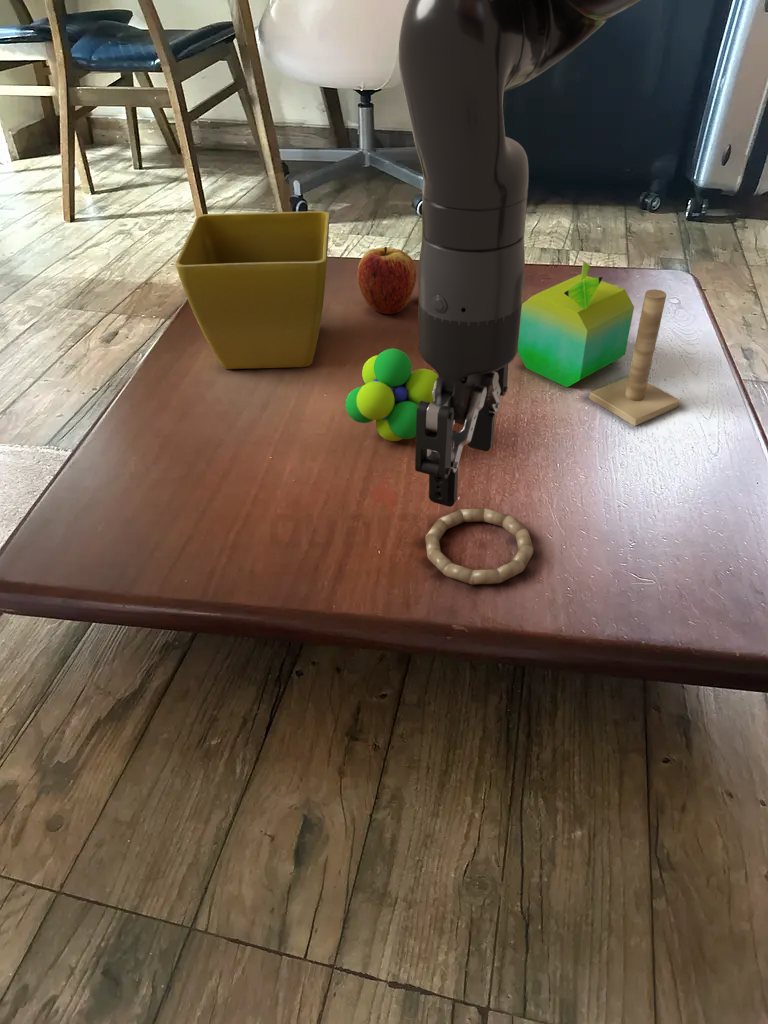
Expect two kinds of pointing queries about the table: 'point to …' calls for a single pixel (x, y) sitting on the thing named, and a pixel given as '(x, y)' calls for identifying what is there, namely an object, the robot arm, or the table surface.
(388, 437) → the molecule model
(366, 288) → the apple
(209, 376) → the table surface
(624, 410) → the post
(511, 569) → the ring
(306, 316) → the flower pot
